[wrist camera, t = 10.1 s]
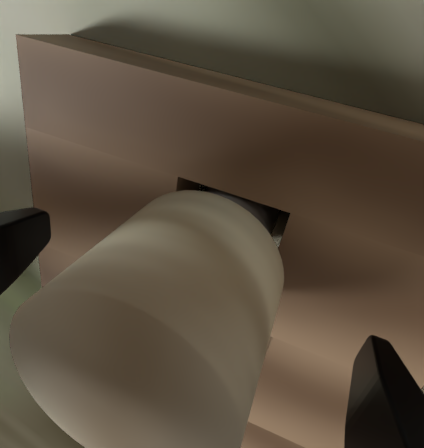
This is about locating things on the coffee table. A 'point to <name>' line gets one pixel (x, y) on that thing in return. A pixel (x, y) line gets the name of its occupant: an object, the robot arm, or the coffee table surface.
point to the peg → (157, 326)
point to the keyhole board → (249, 189)
